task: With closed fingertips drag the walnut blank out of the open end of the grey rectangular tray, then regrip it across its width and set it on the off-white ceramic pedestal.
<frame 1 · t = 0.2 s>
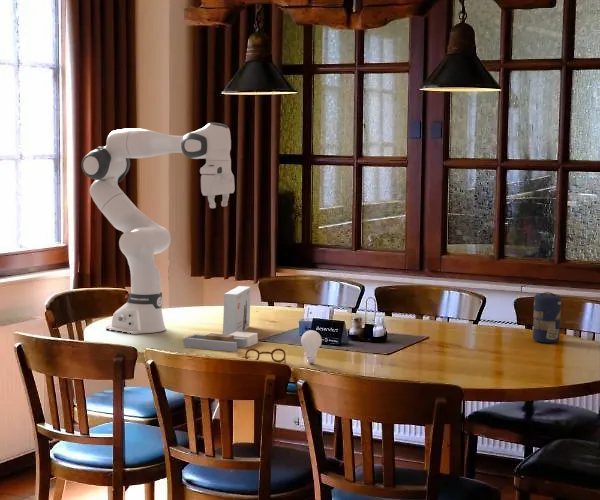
hand: (218, 207, 369), 47 cm above the table, fingers open, 8 cm apart
canister: (546, 342, 370), on the table
skincare box: (237, 332, 385), on the table
light bulb: (311, 364, 332), on the table
walnut blank: (219, 348, 356), resting in grey rectangular tray
glasses: (265, 368, 328), on the table
ceramic pedestal: (242, 344, 362), on the table
grey rectangular tray: (215, 347, 357), on the table
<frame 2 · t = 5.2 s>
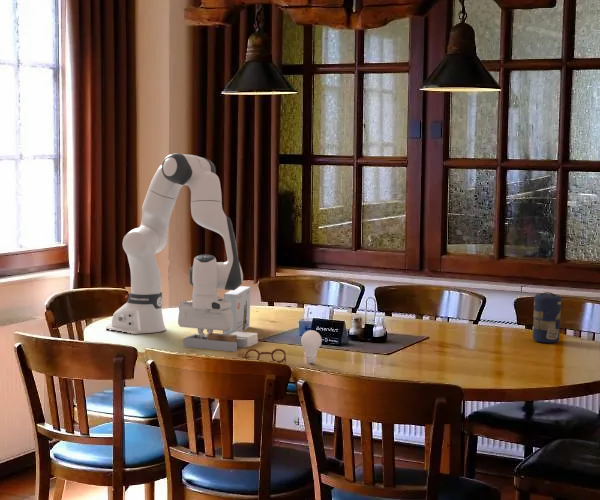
hand: (205, 341, 358), 2 cm above the table, fingers closed
walnut blank: (222, 347, 356), resting in grey rectangular tray, touching gripper
everything else where it was.
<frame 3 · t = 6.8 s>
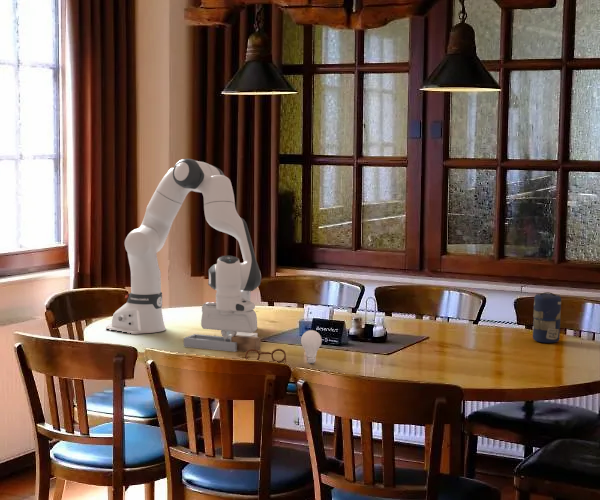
hand: (229, 343, 354), 2 cm above the table, fingers closed
walnut blank: (246, 350, 352), on the table, touching gripper
everything else where it was.
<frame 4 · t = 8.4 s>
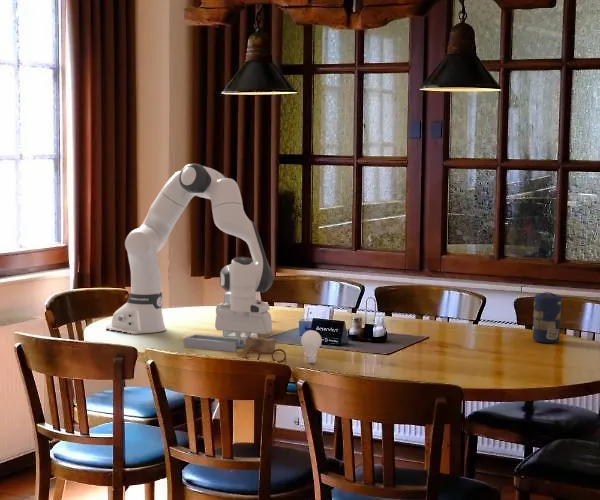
hand: (243, 345, 352), 2 cm above the table, fingers closed
walnut blank: (260, 352, 350), on the table
everything else where it was.
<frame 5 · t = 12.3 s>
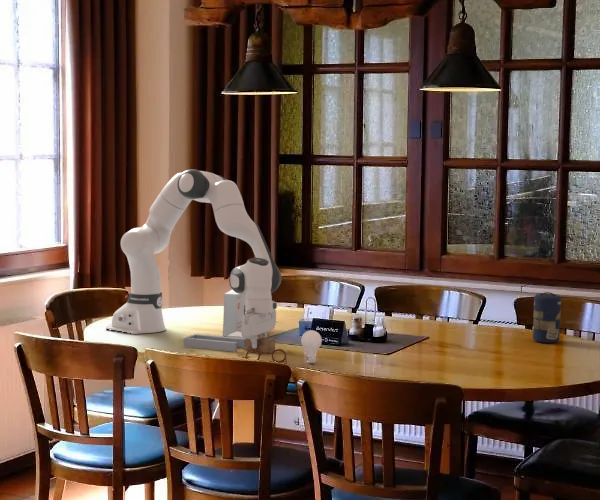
hand: (258, 346, 350), 2 cm above the table, fingers closed on walnut blank, 4 cm apart
walnut blank: (260, 351, 350), on the table, touching gripper
when the fingers open (6 cm above the table, at t = 16.5 s): walnut blank drops 1 cm, resting on ceramic pedestal.
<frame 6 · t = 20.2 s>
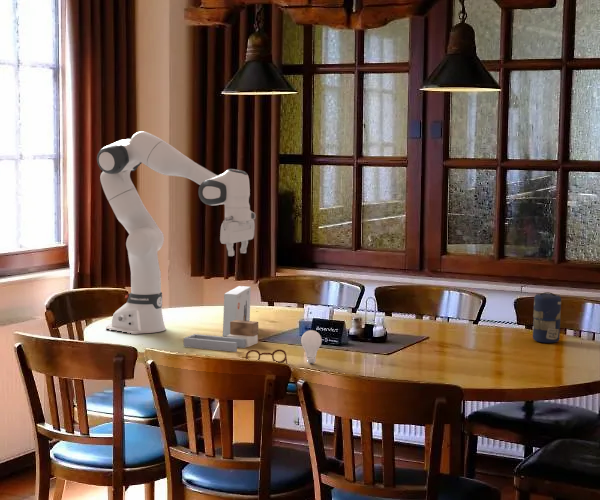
hand: (237, 254, 364), 31 cm above the table, fingers open, 8 cm apart
walnut blank: (244, 334, 362), point 3 cm above the table, touching ceramic pedestal
at the end: walnut blank inside the target area on the ceramic pedestal (0.7 cm from its centre), point 3.5 cm above the ceramic pedestal's base; walnut blank touching ceramic pedestal; the gripper is holding nothing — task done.
